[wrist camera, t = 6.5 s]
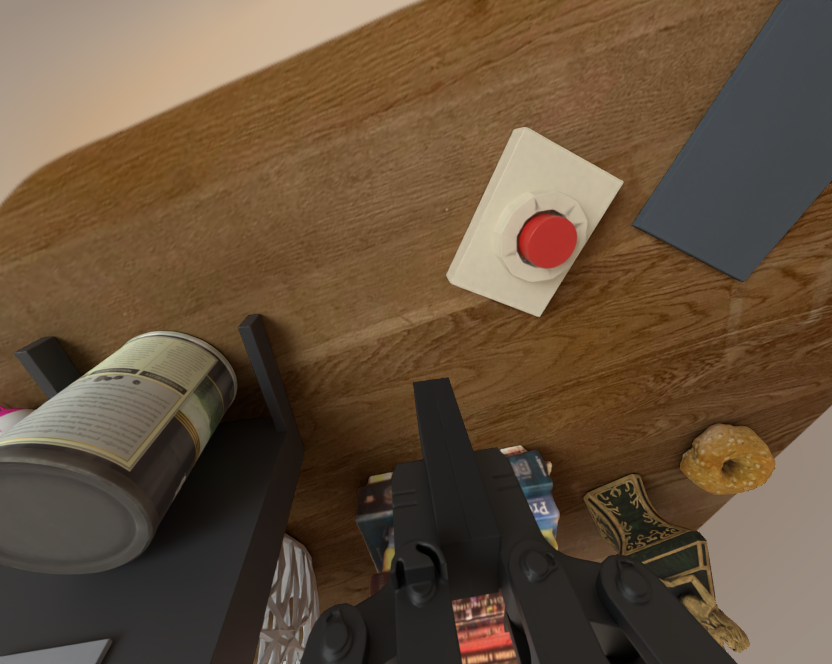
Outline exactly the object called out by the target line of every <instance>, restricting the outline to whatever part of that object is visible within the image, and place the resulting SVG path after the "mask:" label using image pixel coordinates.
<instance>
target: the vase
mask: <svg viewBox="0 0 832 664" xmlns="http://www.w3.org/2000/svg"><path fill="white" fill-rule="evenodd" d="M291 597H293V618H292V625H291V621H290V608H289V600H290V598H291ZM299 598H300V604H299V609H298V603H299ZM281 602H283V604H282V608H281ZM270 610H271V612H272V613H273V615H274V617H273V629H268V619H269V613H270ZM319 617H320V607H319V598H318V591H317V585H316V576H315V573H314V570H313V567H312V557H311V556H310V554H309V553H308V551H307V549H306V548H305V546H304V545H303V544H301V543H300V542H298V541H297V540H295V539H294V538H292V537H291V536H289V535H288V534H286V533H285V534H284V538H283V542H282V546H281V550H280V555H279V559H278V563H277V567H276V571H275V575H274V579H273V583H272V587H271V591H270V595H269V599H268V604H267V608H266V612H265V617H264V624H263V629H261V632H260V636H259V638H261V640H260V648H259V655H258V663H257V664H266V663H267V661H268V659H269V657H270V655H271V657H270V660H269V663H268V664H283V661H284V658H285V656H286V654H287V657H286V664H296V661H297V664H300V662H301V658H302V655H303V652H304V649H305V646H306V643H307V640H308V637H309V634H310V632H311V630H312V628H313V626H314V624H315V622H316V620H317V619H318V618H319ZM302 626H303V634H304V637H303V642H302V647H301V645H300V643H299V633H300V627H302ZM280 628H282V630H280ZM281 636H282V637H281ZM266 641H268V642H270V643H269V645H268V647H267V649H266V651H265V646H266ZM280 646H282V647H281V655H280ZM286 647H287V648H286ZM264 651H265V653H264Z"/></svg>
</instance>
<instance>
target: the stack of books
mask: <svg viewBox="0 0 832 664" xmlns="http://www.w3.org/2000/svg"><path fill="white" fill-rule="evenodd" d="M500 451H501V452H502V453H503V454H504V455H505V456H506V457H507V458H508V459H509V461H510V463H511V466H512V468H513V470H514V472H515V475H516V477H517V479H518V481H519V484H520V487H521V488H522V490H523V493H524V495H525V497H526V499H527V502H528V504H529V506H530V508H531V510H532V513H533V515H534V517H535V519H536V522H537V524H538V526H539V528H540V531H541V532H542V534H543V536H544V538H545V539H546V540H547V541H548V542H549V543H550V545H551V546H553V547H554V548H555V549H556V550H558V545H557V542H556V540H555V539H556V532H557V525H558V519H559V517H560V513H559V510H558V508H557V506H556V504H555V502H554V499H553V496H552V488H553V482H552V479H551V478H550V476H549V475H550V472H551V468H552V463H551V462H550V461H545V460H543V458H542V457H541V454H540V452H539V451H538V450H531V451H527V450H525V449H524V448H523V447H522V446H514V447H509V448H505V449H500ZM392 474H393V472H391V473H385V474H380V475H375V476H371V477H369V480H368V484H367V485H366V486H364V487H360V488H359V489H358V492H357V506H356V514H355V522H356V524H357V526H358V529H359V531H360V533H361V534H362V537H363V539H364V541H365V544H366V546H367V549H368V551H369V553H370V555H371V558H372V560H373V562H374V565H375V567H376V570H377V572H378V574H374V575H373V576H371V578H370V581H369V583H370V587H369V597H371V596H372V595H374V594H375V593H377V592H378V591H379V590H381V589H382V588H383V586H384V585H385V584H386V583H387V582H388V580H389V578H390V576H391V575H390V568H391V561H392V559H393V557H394V555H395V548H394V528H393V506H392V486H391V477H392ZM452 606H453V612H454V617H455V623H456V629H457V635H458V640H459V646H460V652H461V658H462V663H463V664H518V662H517V658H516V655H515V651H514V647H513V644H512V640H511V637H510V633H509V632H507V633H505V631H504V608H505V604H504V600H503V597H502V593H501V590H500V586H499V592H498V593H492V594H487V595H481V596H475V597H470V598H464V599H459V600H453V601H452Z"/></svg>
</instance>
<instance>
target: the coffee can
mask: <svg viewBox="0 0 832 664" xmlns="http://www.w3.org/2000/svg"><path fill="white" fill-rule="evenodd" d="M236 393H237V378H236V375H235V372H234V370H233V368H232V366H231V364H230V363H229V361H228V360H227V359H226V358H225V357H224V356H223V355H222V354H221V353H220V352H219V351H218V350H217V349H215V348H214V347H213V346H211V345H210V344H208V343H206V342H205V341H203V340H200V339H198V338H196V337H193V336H190V335H187V334H183V333H179V332H173V331H155V332H149V333H145V334H142V335H139V336H137V337H135V338H133V339H131V340H129V341H128V342H127V343H126V344H125V345H124V346H123V347H122V348H121V349H119V350H118V351H116V352H115V353H114V354H112V355H111V356H109V357H108V358H107V359H105V360H104V361H103V362H101V363H100V364H98V365H97V366H96V367H94V368H93V369H92V370H90V371H89V372H87V373H86V374H85V375H83V376H82V377H80V378H79V379H78V380H76V381H75V382H74V383H72V384H70V385H69V386H68V387H67V388H65V389H64V390H62V391H61V392H60V393H58V394H57V395H55V396H54V397H53V398H51V399H50V400H49V401H47V402H46V403H45V404H43V405H42V406H40V407H39V408H38V409H36V410H35V411H34V412H32V413H31V414H29V415H28V416H27V417H25V418H24V419H23V420H21V421H20V422H18V423H17V424H16V425H14V426H13V427H12V428H10V429H9V430H8V431H6V432H5V433H3V434H2V435H1V436H0V564H2V565H5V566H9V567H13V568H17V569H22V570H27V571H32V572H40V573H48V574H88V573H97V572H102V571H107V570H111V569H114V568H117V567H120V566H122V565H125V564H127V563H129V562H131V561H133V560H134V559H135V558H137V557H139V556H140V555H141V554H142V553H143V552H144V551H145V550H146V549H147V547H148V546H149V544H150V543H151V541H152V539H153V537H154V535H155V533H156V530H157V527H158V526H159V524H160V522H161V520H162V519H163V517H164V515H165V513H166V512H167V510H168V508H169V507H170V505H171V503H172V502H173V500H174V498H175V496H176V495H177V493H178V492H179V490H180V488H181V487H182V485H183V483H184V482H185V480H186V478H187V477H188V475H189V473H190V472H191V470H192V468H193V466H194V465H195V463H196V461H197V459H198V458H199V456H200V454H201V453H202V451H203V449H204V448H205V446H206V444H207V442H208V441H209V439H210V437H211V436H212V434H213V432H214V431H215V429H216V427H217V426H218V424H219V422H220V421H221V419H222V418H223V416H224V414H225V413H226V411H227V409H228V408H229V407H230V405H231V404H232V403H233V401H234V399H235V396H236Z"/></svg>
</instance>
